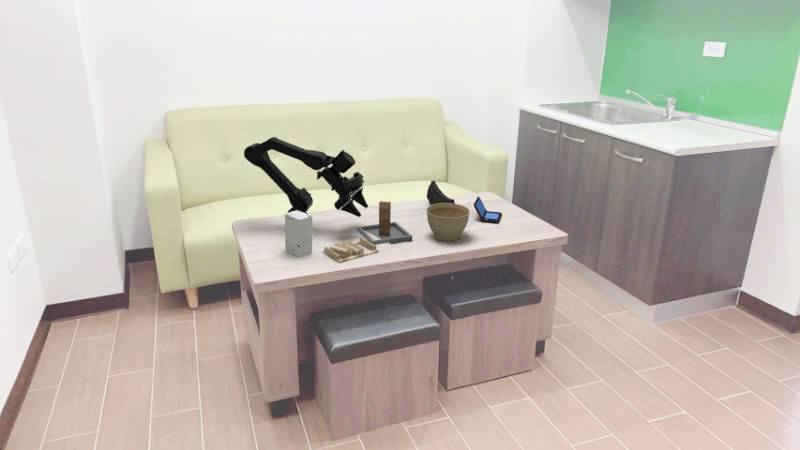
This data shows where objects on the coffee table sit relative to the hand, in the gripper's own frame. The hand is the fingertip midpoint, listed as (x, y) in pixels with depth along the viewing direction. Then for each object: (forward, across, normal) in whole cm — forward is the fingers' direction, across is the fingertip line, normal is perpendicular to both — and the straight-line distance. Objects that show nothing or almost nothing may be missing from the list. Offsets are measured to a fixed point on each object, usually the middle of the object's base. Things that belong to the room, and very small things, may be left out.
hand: (363, 211), depth 220 cm
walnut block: (+12, 0, 0) cm, 12 cm away
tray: (+12, 0, 0) cm, 12 cm away
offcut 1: (+3, -23, +5) cm, 24 cm away
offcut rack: (+7, -20, +5) cm, 22 cm away
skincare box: (-5, -24, +18) cm, 31 cm away
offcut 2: (+4, -23, +6) cm, 24 cm away
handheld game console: (+38, +31, -25) cm, 55 cm away
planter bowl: (+28, +6, -16) cm, 33 cm away
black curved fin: (+25, +31, -11) cm, 41 cm away
